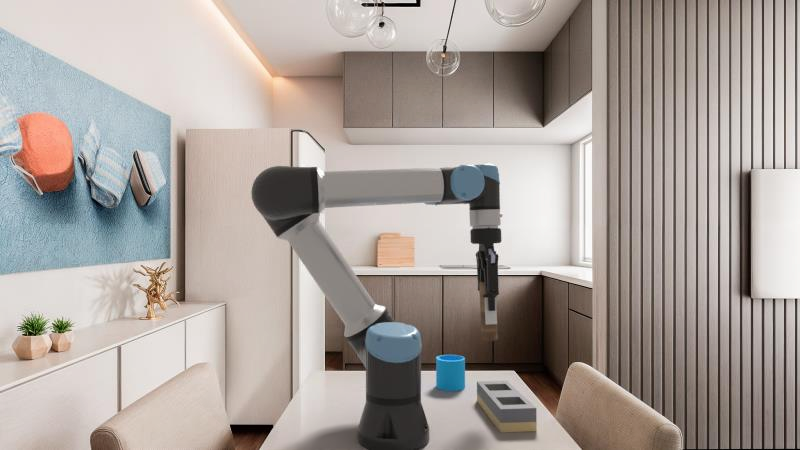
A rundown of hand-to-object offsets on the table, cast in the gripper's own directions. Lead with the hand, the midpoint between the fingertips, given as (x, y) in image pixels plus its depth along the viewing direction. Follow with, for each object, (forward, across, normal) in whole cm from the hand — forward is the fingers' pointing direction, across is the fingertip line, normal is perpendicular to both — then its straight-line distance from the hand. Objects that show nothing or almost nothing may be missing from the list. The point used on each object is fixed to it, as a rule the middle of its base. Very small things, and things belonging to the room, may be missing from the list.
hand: (489, 322), depth 131 cm
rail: (+21, -4, -2) cm, 22 cm away
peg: (+4, 0, 0) cm, 4 cm away
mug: (+22, +22, +7) cm, 32 cm away
